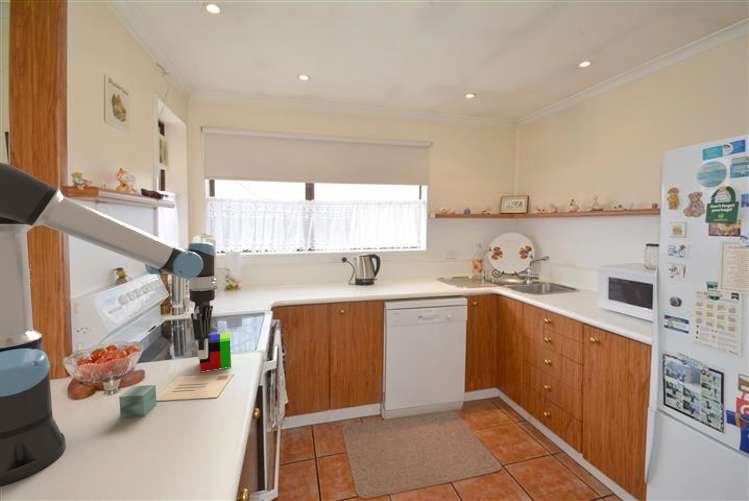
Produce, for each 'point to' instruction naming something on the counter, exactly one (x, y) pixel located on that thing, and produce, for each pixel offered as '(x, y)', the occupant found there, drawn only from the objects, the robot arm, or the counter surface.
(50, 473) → the counter surface
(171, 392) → the letter card
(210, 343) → the puzzle toy
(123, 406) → the teal block
